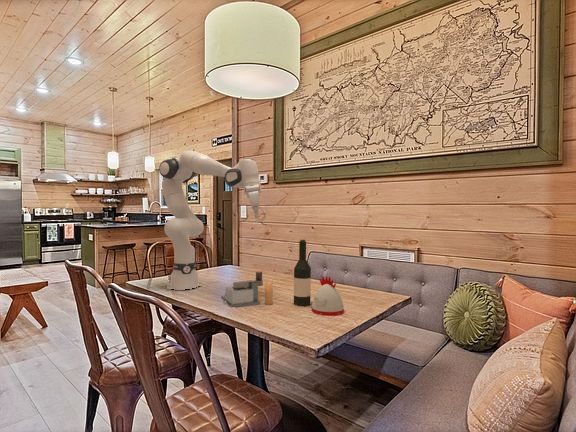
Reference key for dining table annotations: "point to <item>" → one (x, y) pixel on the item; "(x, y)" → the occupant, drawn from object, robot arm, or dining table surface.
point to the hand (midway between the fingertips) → (257, 217)
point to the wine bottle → (302, 278)
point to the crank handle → (249, 282)
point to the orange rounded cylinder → (268, 293)
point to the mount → (242, 295)
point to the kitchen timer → (327, 299)
